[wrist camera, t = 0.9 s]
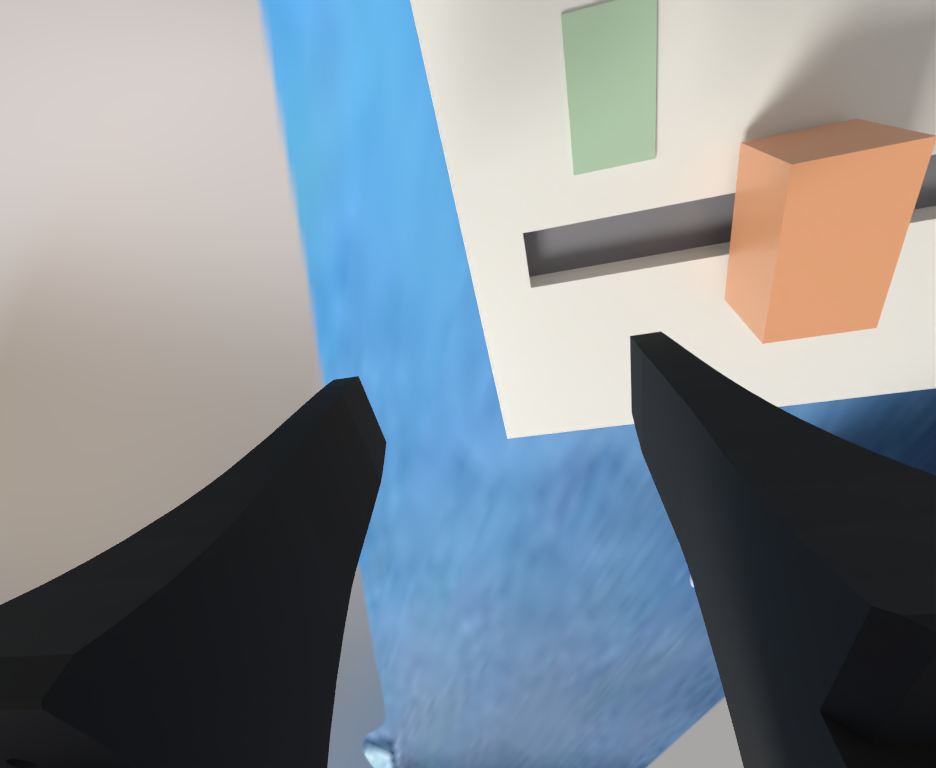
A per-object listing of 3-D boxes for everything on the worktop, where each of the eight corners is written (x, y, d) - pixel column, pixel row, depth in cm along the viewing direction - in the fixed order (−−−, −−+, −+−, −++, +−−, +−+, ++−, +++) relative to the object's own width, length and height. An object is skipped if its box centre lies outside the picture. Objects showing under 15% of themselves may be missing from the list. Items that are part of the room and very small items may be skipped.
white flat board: (990, 348, 19) (1036, 378, 18) (507, 410, 23) (507, 440, 21) (1286, -263, 10) (1439, -323, 9) (417, -11, 14) (405, -18, 12)
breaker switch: (804, 272, 17) (876, 328, 14) (714, 287, 17) (762, 343, 14) (836, 114, 14) (937, 136, 11) (727, 136, 14) (791, 164, 11)
